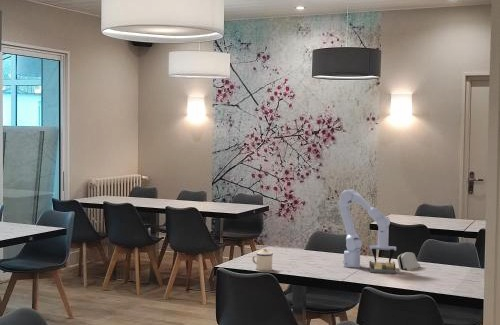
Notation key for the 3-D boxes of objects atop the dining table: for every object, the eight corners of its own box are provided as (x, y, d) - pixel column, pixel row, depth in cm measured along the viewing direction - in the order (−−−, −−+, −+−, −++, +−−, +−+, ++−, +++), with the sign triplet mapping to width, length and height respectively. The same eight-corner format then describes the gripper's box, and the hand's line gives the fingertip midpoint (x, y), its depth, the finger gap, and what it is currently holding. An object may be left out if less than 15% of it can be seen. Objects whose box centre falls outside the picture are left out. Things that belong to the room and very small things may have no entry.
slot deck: (369, 269, 378) (369, 263, 377) (369, 266, 386) (369, 260, 386) (395, 270, 375) (395, 264, 375) (394, 267, 384) (394, 261, 384)
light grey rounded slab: (407, 270, 375) (402, 253, 377) (400, 272, 378) (395, 255, 380) (421, 266, 388) (416, 250, 390) (413, 268, 391) (408, 251, 393)
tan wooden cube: (385, 269, 375) (386, 270, 371) (386, 262, 375) (386, 263, 371) (393, 269, 374) (393, 271, 370) (393, 262, 374) (393, 263, 370)
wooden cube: (374, 270, 371) (374, 271, 367) (374, 263, 371) (374, 264, 367) (381, 270, 371) (381, 272, 367) (381, 263, 371) (381, 264, 367)
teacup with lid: (275, 269, 372) (275, 248, 372) (267, 271, 364) (268, 250, 364) (256, 266, 378) (256, 246, 378) (248, 269, 370) (248, 248, 370)
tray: (370, 272, 367) (370, 269, 367) (369, 269, 377) (369, 265, 377) (396, 273, 365) (396, 270, 365) (395, 270, 375) (395, 267, 375)
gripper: (396, 238, 379) (395, 262, 379) (369, 236, 381) (369, 260, 382) (396, 239, 372) (396, 264, 372) (370, 238, 374) (369, 262, 375)
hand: (382, 262), depth 376 cm, fingers open, 7 cm apart
